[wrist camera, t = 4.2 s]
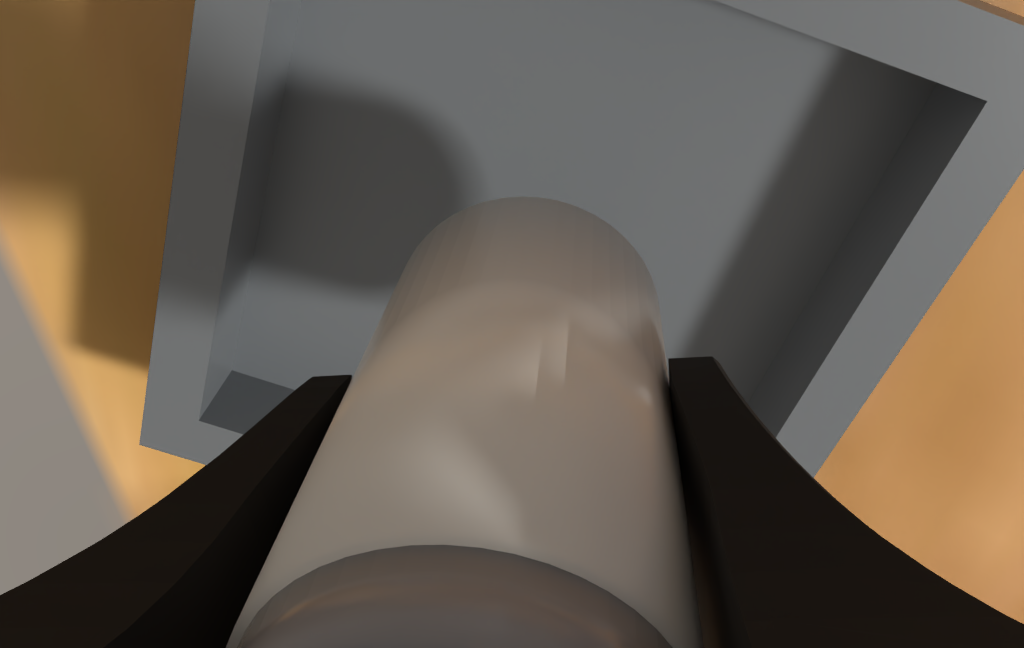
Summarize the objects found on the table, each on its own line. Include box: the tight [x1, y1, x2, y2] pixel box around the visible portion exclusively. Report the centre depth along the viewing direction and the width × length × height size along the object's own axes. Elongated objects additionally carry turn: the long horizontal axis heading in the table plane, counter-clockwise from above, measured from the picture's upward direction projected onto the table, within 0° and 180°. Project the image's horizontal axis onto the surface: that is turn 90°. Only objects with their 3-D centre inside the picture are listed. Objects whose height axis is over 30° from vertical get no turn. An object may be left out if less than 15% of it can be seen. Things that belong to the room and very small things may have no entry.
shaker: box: [226, 196, 704, 648], centre depth 11 cm, size 5×5×9 cm
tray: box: [139, 0, 1024, 478], centre depth 18 cm, size 14×14×3 cm
